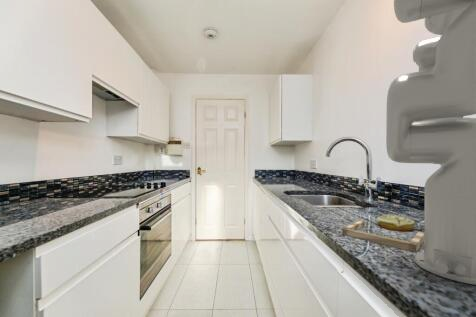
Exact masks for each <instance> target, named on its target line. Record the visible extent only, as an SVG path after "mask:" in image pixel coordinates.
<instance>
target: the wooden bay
mask: <svg viewBox="0 0 476 317" xmlns="http://www.w3.org/2000/svg"><path fill="white" fill-rule="evenodd" d="M364 227H365V220H360V219H359V220H357V221H355V222H353V223H351V224H349V225H347V226H345V227H343V228H341V234H342V235H343V236H346V237H351V238H356V239H359V240H364V241H367V242H372V243H376V244H380V245H385V246H389V247H391V248H396V249H399V250H400V249H401V250H405V251H407V252H408V251H409V252H412V253H417V252H418V251H419V249H420V247H421V246H422V244H424V231H420V230H419V231H417V233H416V234H415V235H414V237H413V238H412V239H411V240H410V241H406V240H401V239H398V238H397V239H396V238H393V237H388V236H383V235H378V234H375V233H370V232H365V231H360V229H362V228H364Z"/></svg>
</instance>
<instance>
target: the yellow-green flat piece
mask: <svg viewBox="0 0 476 317" xmlns="http://www.w3.org/2000/svg"><path fill="white" fill-rule="evenodd" d="M376 223H377V224H379V226H380V227H382V228H383V229H386V230H391V231H399V232H405V231H406V232H408V231H412V230H413V229H414V228H415V226H416V224H415V223H416V222H415V221H414V220H413V219H411V218H409V217H406V216H402V215H396V214H381V215H380V216H378V217H377V219H376Z"/></svg>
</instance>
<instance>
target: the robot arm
mask: <svg viewBox="0 0 476 317" xmlns="http://www.w3.org/2000/svg"><path fill="white" fill-rule="evenodd" d="M393 10H394V14H395V17H396V19H397V20H398V21H399V22H400V23H404V24H405V23H412V22H416V21H420V20H423V19H424V27H425V29H426V30H427V31H428V32H429V33H431V34H434V35H439V36H436V37H432V38H427V39H424V40H422V41H419V42H418V43H417V44H416V45H415V47H414V48H413V51H412V60H413V62H414V63H415V64H416V65H417V67H418V71H416V72H409V73H406V74H402V75H400V76H398V77H396V78H395V79H393V81H392V82H391V83H390V85H389V87H388V91H387V96H386V120H385V121H386V125H385V126H386V127H385V128H386V134H385V135H386V138H385V139H386V141H385V142H386V146H385V147H386V153H387V155H388V158H389V159H390V160H391V161H393V162H396V163H400V164H432V165H440V167H439V168H438V169H436V171H434V172H433V173H432V174H431V175H430V176H429V177H428V178H427V179H426V180H425V184H424V191H423V192H424V215H423V216H424V218H423V220H424V221H423V222H424V224H423V225H424V228H423V229H424V230H423V232H424V241H423V246H424V247H423V252H419V253H417V254H415V256H414V262H415V264H417V265H418V266H419V267H420V268H422V269H423V270H425V271H427V272H429V273H431V274H434V275H437V276H440V277H441V278H444V279H449V280H452V281H455V282H459V283H463V284H469V285H474V286H476V118H475V117H467V116H472V115H474V116H475V115H476V0H393Z"/></svg>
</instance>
